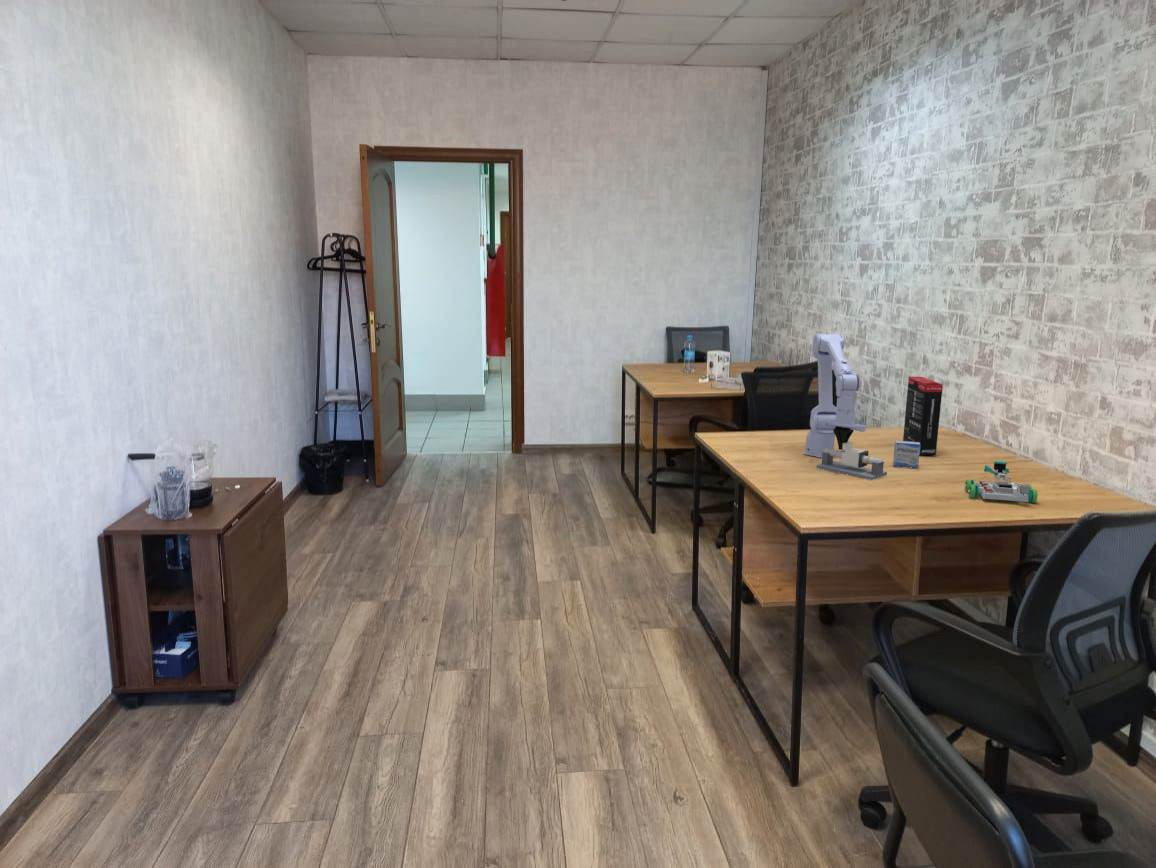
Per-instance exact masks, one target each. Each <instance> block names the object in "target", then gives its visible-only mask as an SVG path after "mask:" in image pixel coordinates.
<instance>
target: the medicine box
mask: <svg viewBox="0 0 1156 868" xmlns="http://www.w3.org/2000/svg"><path fill="white" fill-rule="evenodd" d="M920 446H921V445H920V443H919V442H908V441H903V440H895V441H894V449H893V450H894V451H893V460H892V464H893V467H894V466H899V467H898V468H902V467H912V468H911V469H915V468H918V469H919V463H920V456H919V455H920Z"/></svg>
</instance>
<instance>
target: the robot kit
mask: <svg viewBox="0 0 1156 868" xmlns="http://www.w3.org/2000/svg"><path fill="white" fill-rule="evenodd" d="M1007 464H1008V462H1007V461H1002V460H1000V461H999V460H994V461H993V468H992V467H990V465H987V464H986V465H985V466H984V467H983V472H985V473H987V472H988V473H990V474H993V476H994V479H995V480H994V481H989V482H987V481H986V480H984V479H980V481H978V482H975V480H974V479H969V478H967V479H965V482H964V486H963V487H964V490H965V491H966V492H965V491H964V492H965V493H967V492H969V493H968V497H969V499H978V497H979V495H980V496H981V497H982V498H983V500H986V499H988V500H998V501H999V500H1000V501H1013V502H1025V503H1026V502H1027V503H1031V504H1036V503H1037V501H1038V497H1039V496H1038V491H1037V489H1036V488H1033V487H1032V485H1031V483H1025V482H1024V483H1022V484H1021V483H1017V482H1011V481H1012V477H1011V476H1006V475H1008V474H1010V469H1009V468H1007ZM1001 479H1002V480H1003V481H1000V480H1001ZM975 497H976V498H975Z"/></svg>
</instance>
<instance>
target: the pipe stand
mask: <svg viewBox="0 0 1156 868" xmlns="http://www.w3.org/2000/svg"><path fill="white" fill-rule="evenodd" d="M834 458H838V459H842V450H839V449H838V450H836V449H834V450H832V449H827V448H825V449H824V452H823V453H822V458H821V463H820V464H817V465H816V469H818V468H819V469H818V470H823V469H824V471H828V470H829V472H832V471H833V472H832V473H837V472H839V473H838V474H841V473H843V475H846V474H848V475H847V476H851V475H853V476H852V477H855V476H858V477H857V478H860V477H862V478H861V479H865V478H866V479H865V480H869V479H871V480H870V481H873V479H874V480H877V479H879V478H882V477H884V475H885V476H887V475H886V474H888V472H887V471H884V465H885V461H884V460H883V458H879V457H874V456H869V455H868V456H863V455H862V463H867V465H871V468H870V467H866V466H864V467H861V468H859V467H855V466H850V465H845V464H841V461H837V460H836V461H835V460H834ZM881 476H882V477H881ZM878 477H879V478H878ZM876 478H877V479H876Z"/></svg>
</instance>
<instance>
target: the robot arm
mask: <svg viewBox="0 0 1156 868" xmlns="http://www.w3.org/2000/svg"><path fill="white" fill-rule="evenodd" d="M812 340H813V341H812V354H813V358H814V359H816V360H817V381H818V383H817V385H818V405H816V406H815V407H813V408H812V410H811V411H810V419H809V427H810V430H808V431H807V435H806V437H805V438H806V439H805V452H804V453H803V455H805V456H811V457H815V456H816V457H817V458H820V457H821V459H822V453H823V452H824V449H825V448H827V449H832V450H835V449H834V448H835V439H836V442H837V446H838V451H842V447H843V443H846V442H849V440H850V438H851V436H852V434H853V433H854V431H856V432H857V431H858V432H861V433H864V432H866V428H867V425H863V424H860V423H857V422H854V418H855V408H856V406H855V405H856V396H857V392H858V391H859V389H860V384H861V382H860V381H861V380H860V376H859V374H858V373H856V372H854V371H853V369H852V366H851V363H850V361H849V360H848V359H846V358H845V356H844V352H843V351H844V348H845V345H846V344H845V343H846V340H845V335H843V334H842V333H815V334H814V336H813V339H812ZM833 373H834V376H835V378H836V380H835V389H836V390H835V391H836V392H835V395H836V397H837V399H836V406H835V404H833V402H834V401H833V398H834V397H833Z"/></svg>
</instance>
